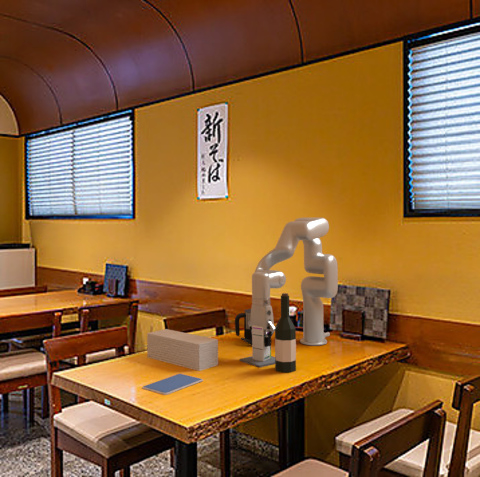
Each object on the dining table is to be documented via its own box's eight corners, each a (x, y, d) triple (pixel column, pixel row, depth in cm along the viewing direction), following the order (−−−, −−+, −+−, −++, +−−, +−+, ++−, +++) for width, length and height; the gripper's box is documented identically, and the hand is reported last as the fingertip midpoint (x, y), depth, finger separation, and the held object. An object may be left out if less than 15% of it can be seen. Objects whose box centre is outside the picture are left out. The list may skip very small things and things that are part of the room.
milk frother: (258, 337, 259) (258, 308, 259) (272, 344, 245) (272, 313, 244) (232, 340, 254) (231, 310, 253) (245, 347, 239) (244, 315, 239)
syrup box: (263, 362, 212) (263, 327, 211) (251, 359, 216) (251, 325, 215) (271, 358, 217) (271, 324, 216) (259, 356, 220) (259, 322, 219)
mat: (262, 355, 225) (262, 353, 225) (283, 361, 215) (283, 359, 215) (239, 360, 217) (239, 358, 217) (260, 367, 207) (260, 365, 207)
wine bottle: (298, 367, 206) (297, 292, 205) (293, 373, 198) (292, 295, 197) (277, 365, 209) (277, 291, 208) (272, 371, 201) (271, 294, 200)
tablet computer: (165, 397, 175) (165, 393, 175) (140, 389, 183) (140, 386, 183) (204, 382, 191) (204, 379, 190) (179, 376, 198) (179, 372, 198)
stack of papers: (147, 357, 224) (147, 333, 224) (166, 352, 232) (166, 328, 232) (199, 371, 203) (199, 344, 203) (218, 365, 211) (217, 339, 211)
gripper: (282, 303, 211) (282, 346, 211) (254, 298, 224) (254, 339, 225) (268, 305, 206) (269, 350, 207) (240, 300, 219) (241, 342, 220)
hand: (261, 344), depth 216 cm, fingers open, 7 cm apart
